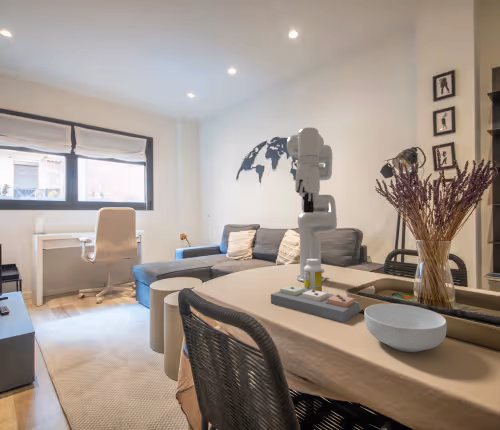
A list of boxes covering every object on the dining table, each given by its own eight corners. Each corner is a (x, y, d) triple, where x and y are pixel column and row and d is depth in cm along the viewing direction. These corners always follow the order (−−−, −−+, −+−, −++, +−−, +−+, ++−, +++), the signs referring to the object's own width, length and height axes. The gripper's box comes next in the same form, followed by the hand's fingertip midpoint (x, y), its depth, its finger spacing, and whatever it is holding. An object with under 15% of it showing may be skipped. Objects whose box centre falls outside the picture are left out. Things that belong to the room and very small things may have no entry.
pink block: (336, 307, 90) (336, 293, 90) (354, 311, 86) (354, 297, 86) (327, 311, 86) (327, 297, 86) (345, 316, 82) (345, 301, 82)
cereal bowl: (384, 324, 77) (384, 298, 77) (457, 346, 64) (457, 315, 64) (350, 342, 66) (350, 312, 66) (429, 372, 53) (429, 335, 53)
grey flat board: (294, 294, 106) (294, 286, 106) (362, 309, 88) (362, 300, 88) (270, 302, 96) (270, 294, 96) (343, 322, 78) (343, 311, 78)
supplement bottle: (322, 291, 111) (322, 258, 111) (321, 295, 104) (320, 261, 104) (305, 289, 113) (305, 257, 113) (303, 294, 107) (302, 260, 107)
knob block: (290, 296, 103) (290, 284, 103) (304, 299, 99) (304, 287, 99) (280, 299, 98) (280, 287, 98) (294, 303, 94) (294, 290, 94)
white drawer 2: (311, 301, 97) (311, 288, 97) (327, 305, 92) (327, 292, 92) (302, 305, 92) (302, 292, 92) (318, 309, 88) (318, 295, 88)
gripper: (310, 166, 111) (310, 212, 111) (288, 161, 100) (288, 212, 100) (327, 164, 106) (327, 212, 106) (306, 158, 95) (306, 212, 95)
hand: (308, 212), depth 103 cm, fingers closed
